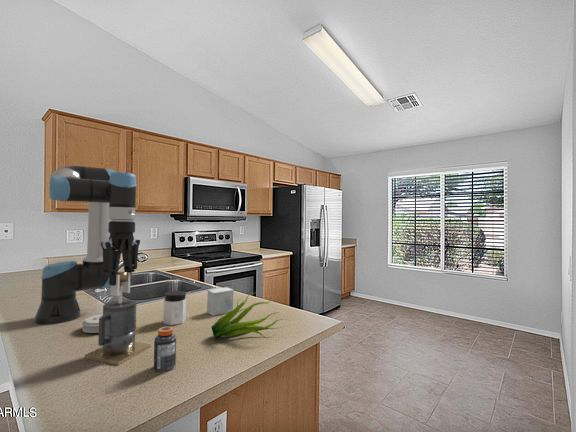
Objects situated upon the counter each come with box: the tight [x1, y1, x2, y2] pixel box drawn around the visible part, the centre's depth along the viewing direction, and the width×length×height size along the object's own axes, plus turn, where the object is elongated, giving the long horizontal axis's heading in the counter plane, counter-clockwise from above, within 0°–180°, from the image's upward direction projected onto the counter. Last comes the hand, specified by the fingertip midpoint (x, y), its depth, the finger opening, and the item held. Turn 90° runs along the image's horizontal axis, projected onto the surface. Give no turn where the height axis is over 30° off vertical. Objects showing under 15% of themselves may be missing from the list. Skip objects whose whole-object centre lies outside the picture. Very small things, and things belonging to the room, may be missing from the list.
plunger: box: [117, 270, 127, 305], centre depth 97 cm, size 4×4×18 cm
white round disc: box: [81, 313, 103, 334], centre depth 117 cm, size 13×13×5 cm
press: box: [84, 299, 151, 366], centre depth 97 cm, size 13×14×16 cm
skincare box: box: [206, 287, 235, 317], centre depth 140 cm, size 10×6×10 cm, turn 131°
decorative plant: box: [211, 291, 289, 339], centre depth 116 cm, size 18×30×15 cm, turn 92°
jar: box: [162, 290, 187, 326], centre depth 126 cm, size 9×8×12 cm
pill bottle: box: [153, 326, 177, 373], centre depth 88 cm, size 6×6×11 cm
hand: (120, 293), depth 97 cm, fingers closed on plunger, 4 cm apart
